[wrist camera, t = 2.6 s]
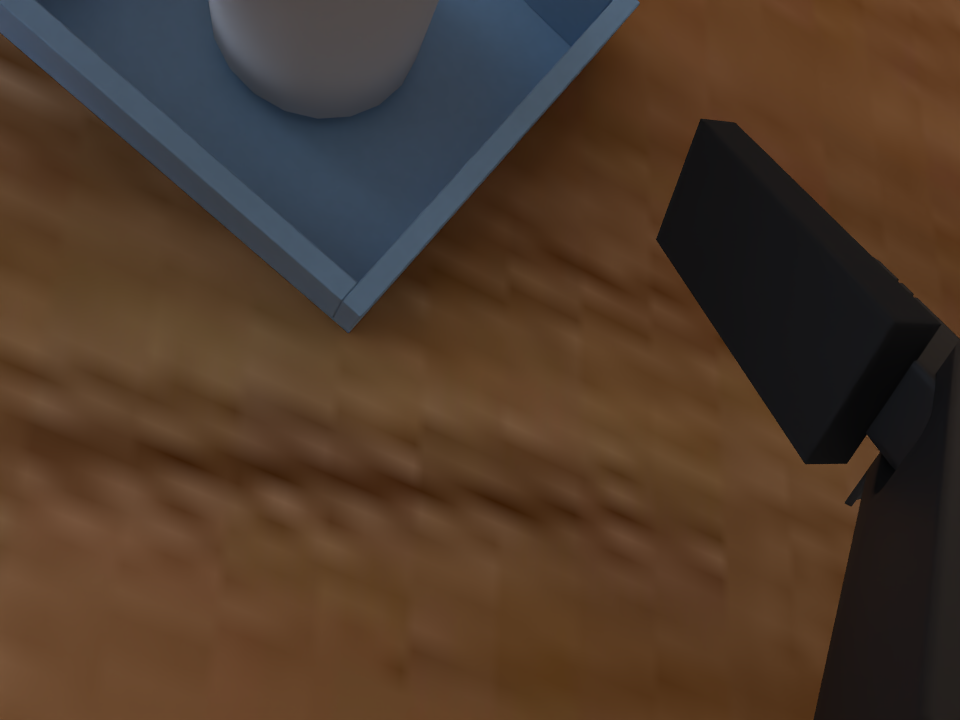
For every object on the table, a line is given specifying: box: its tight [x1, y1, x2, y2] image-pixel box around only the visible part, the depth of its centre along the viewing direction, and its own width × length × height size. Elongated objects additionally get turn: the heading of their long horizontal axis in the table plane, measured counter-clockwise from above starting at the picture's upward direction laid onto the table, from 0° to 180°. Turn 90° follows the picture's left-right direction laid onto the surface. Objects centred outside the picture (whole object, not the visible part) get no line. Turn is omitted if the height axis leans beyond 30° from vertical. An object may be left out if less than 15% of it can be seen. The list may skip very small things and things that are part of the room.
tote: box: [0, 0, 639, 333], centre depth 28 cm, size 17×16×4 cm
